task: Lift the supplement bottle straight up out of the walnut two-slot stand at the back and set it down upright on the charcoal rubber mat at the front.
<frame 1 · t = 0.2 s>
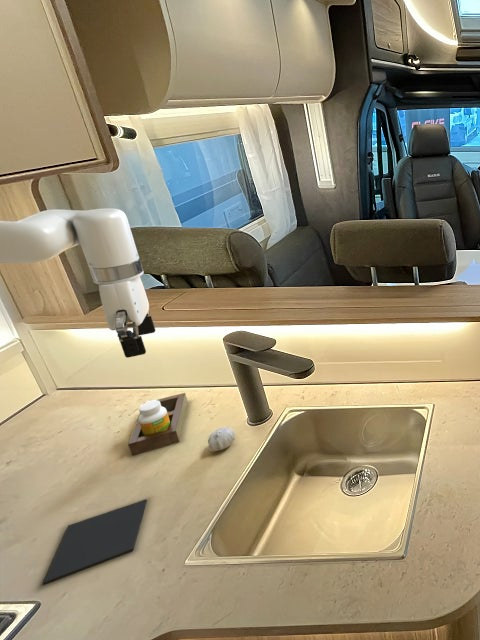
hand: (141, 343, 89), 31 cm above the worktop, tool pointing down, fingers open, 9 cm apart
stand: (162, 427, 107), on the worktop
supplement bottle: (160, 437, 104), resting in stand
garlic: (223, 446, 102), on the worktop
mat: (100, 538, 80), on the worktop
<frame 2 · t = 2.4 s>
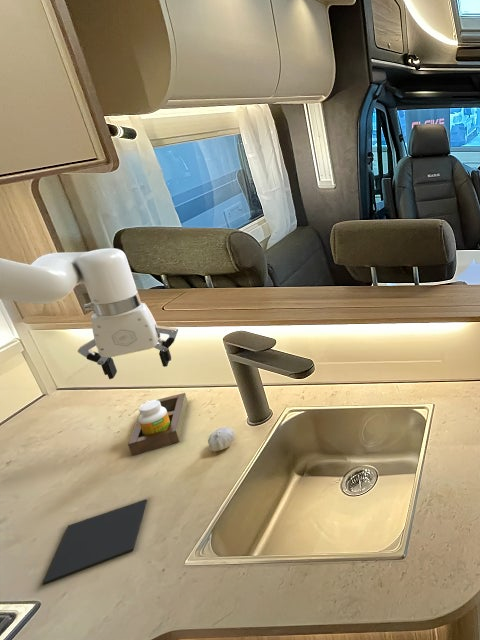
hand: (140, 369, 97), 20 cm above the worktop, tool pointing down, fingers open, 9 cm apart
nothing on the worktop moved.
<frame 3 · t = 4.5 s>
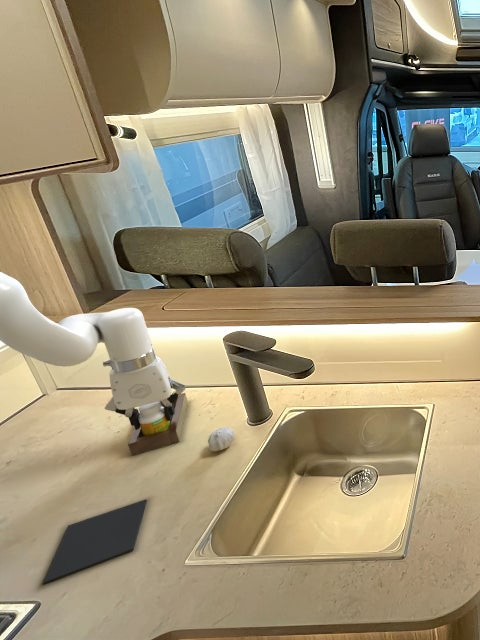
hand: (154, 421, 102), 5 cm above the worktop, tool pointing down, fingers closed on supplement bottle, 5 cm apart
supplement bottle: (160, 437, 104), resting in stand, touching gripper
everything else where it was.
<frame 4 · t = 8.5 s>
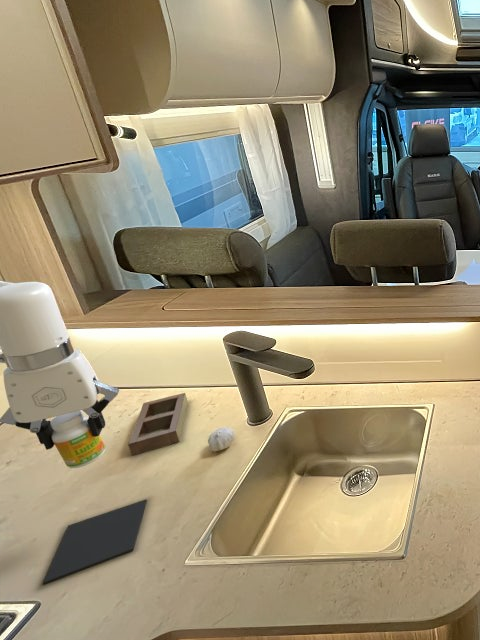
hand: (75, 436, 76), 21 cm above the worktop, tool pointing down, fingers closed on supplement bottle, 5 cm apart
supplement bottle: (87, 458, 78), point 16 cm above the worktop, touching gripper
everything else where it was.
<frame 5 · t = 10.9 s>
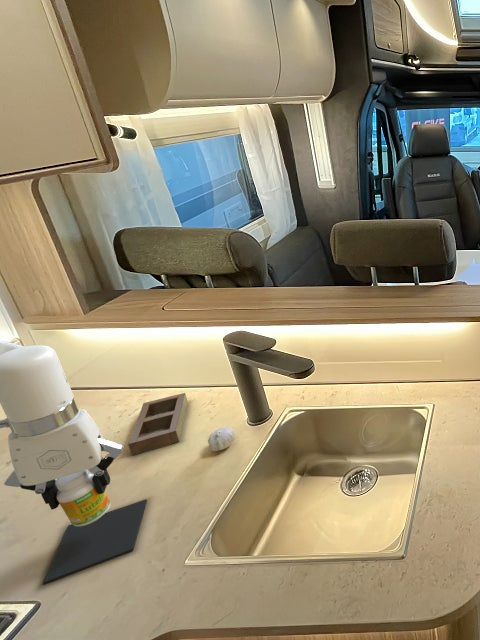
hand: (80, 494, 76), 11 cm above the worktop, tool pointing down, fingers closed on supplement bottle, 5 cm apart
supplement bottle: (92, 514, 78), point 6 cm above the worktop, touching gripper
everything else where it was.
when the fingers open (6 cm above the worktop, at t = 12.7 s): supplement bottle stays where it is, resting on mat.
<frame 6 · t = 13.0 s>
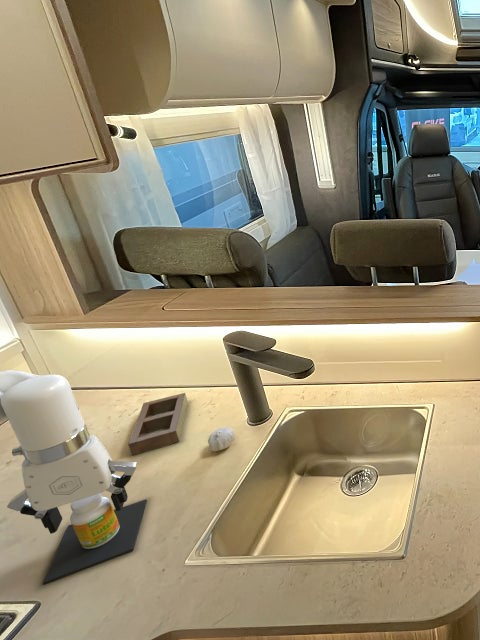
hand: (89, 515, 77), 6 cm above the worktop, tool pointing down, fingers open, 8 cm apart
supplement bottle: (101, 536, 80), resting on mat
everything else where it was.
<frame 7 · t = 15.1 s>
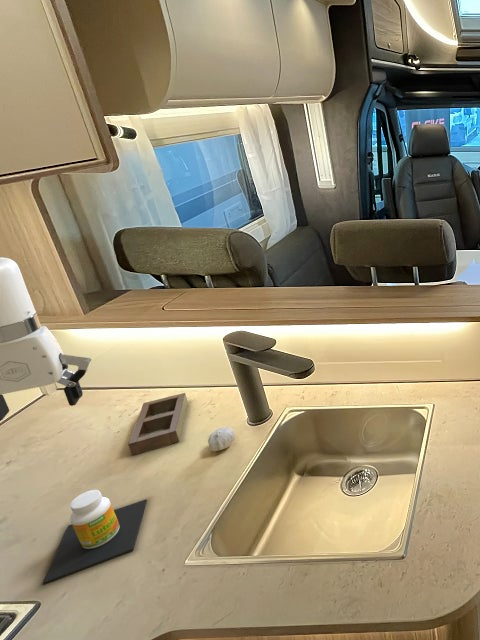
hand: (40, 408, 77), 25 cm above the worktop, tool pointing down, fingers open, 9 cm apart
nothing on the worktop moved.
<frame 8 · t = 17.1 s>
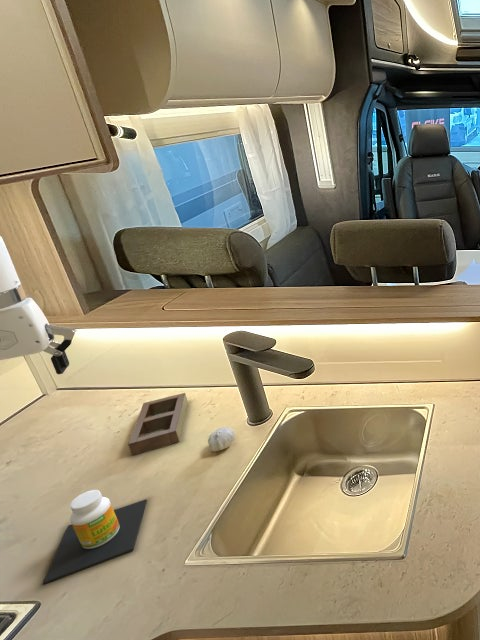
hand: (28, 377, 81), 28 cm above the worktop, tool pointing down, fingers open, 9 cm apart
nothing on the worktop moved.
at the end: supplement bottle inside the target area on the mat (0.3 cm from its centre), point 0.3 cm above the mat's base; supplement bottle tilted 0°; the gripper is holding nothing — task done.
